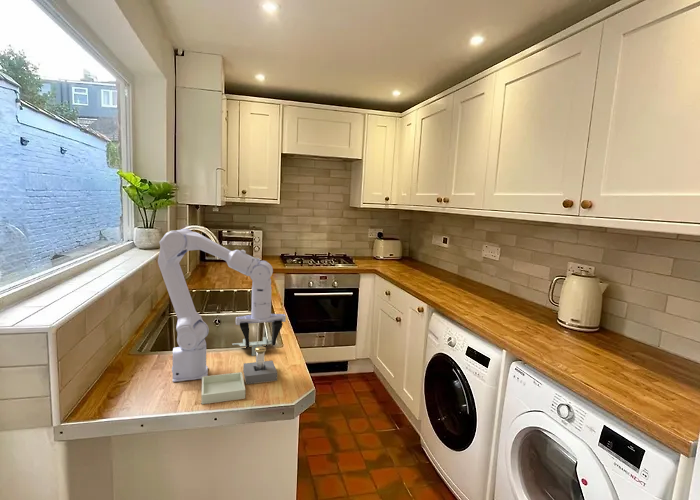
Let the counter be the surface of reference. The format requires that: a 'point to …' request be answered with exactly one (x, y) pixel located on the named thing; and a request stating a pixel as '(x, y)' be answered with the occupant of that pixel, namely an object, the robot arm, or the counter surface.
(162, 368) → the counter surface
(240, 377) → the tray
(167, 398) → the counter surface
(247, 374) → the pin block
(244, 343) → the metal bracket
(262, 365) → the steel pin
